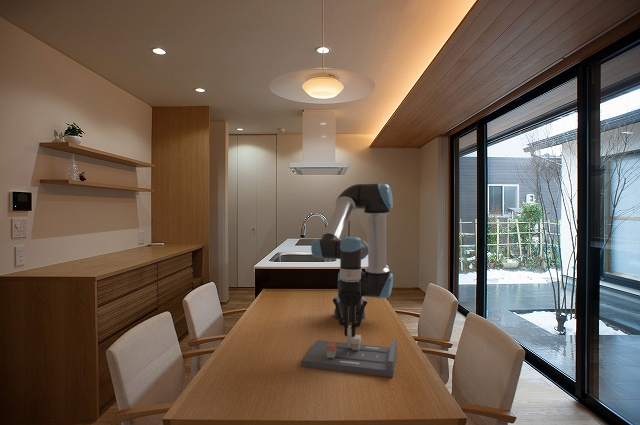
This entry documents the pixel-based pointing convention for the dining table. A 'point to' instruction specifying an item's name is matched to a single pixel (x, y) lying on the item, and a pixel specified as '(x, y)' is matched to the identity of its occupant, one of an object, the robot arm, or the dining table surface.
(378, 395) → the dining table surface
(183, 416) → the dining table surface
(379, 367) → the console
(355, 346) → the fader
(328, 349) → the fader
